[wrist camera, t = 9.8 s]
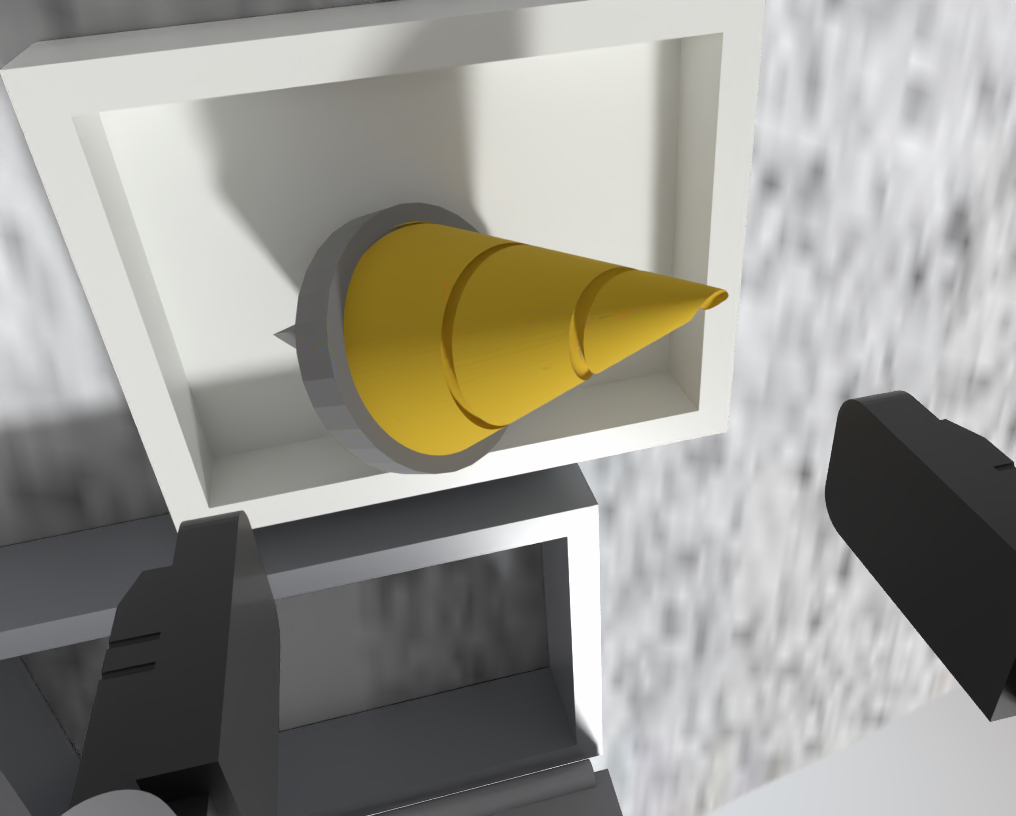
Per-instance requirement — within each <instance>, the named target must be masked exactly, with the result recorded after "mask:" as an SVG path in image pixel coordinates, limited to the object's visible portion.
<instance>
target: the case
mask: <svg viewBox="0 0 1016 816" xmlns="http://www.w3.org/2000/svg"><path fill="white" fill-rule="evenodd" d="M252 531H253V534H254V537H255V540H256V543H257V546H258V550H259V553H260V556H261V559H262V562H263V565H264V569H265V572H266V575H267V578H268V581H269V584H270V588H271V591H272V594H273V597H274V600H278V599H282V598H287V597H292V596H296V595H301V594H305V593H310V592H314V591H319V590H324V589H328V588H333V587H337V586H342V585H347V584H351V583H356V582H360V581H365V580H370V579H374V578H379V577H383V576H388V575H392V574H397V573H402V572H406V571H411V570H415V569H420V568H425V567H429V566H434V565H438V564H443V563H447V562H452V561H457V560H461V559H466V558H470V557H475V556H480V555H484V554H489V553H493V552H498V551H502V550H507V549H512V548H516V547H521V546H525V545H530V544H535V543H539V542H541V546H542V561H543V576H544V590H545V605H546V620H547V635H548V650H549V664H550V667H548V668H543V669H539V670H535V671H531V672H527V673H523V674H519V675H514V676H510V677H506V678H502V679H498V680H494V681H490V682H485V683H481V684H477V685H473V686H469V687H465V688H461V689H457V690H452V691H448V692H444V693H440V694H436V695H432V696H428V697H423V698H419V699H415V700H411V701H407V702H403V703H399V704H394V705H390V706H386V707H382V708H378V709H374V710H370V711H365V712H361V713H357V714H353V715H349V716H345V717H341V718H337V719H332V720H328V721H324V722H320V723H316V724H312V725H308V726H303V727H299V728H295V729H291V730H287V731H283V732H279V737H278V792H277V816H368V815H372V814H376V813H379V812H383V811H387V810H391V809H395V808H399V807H402V806H406V805H410V804H414V803H418V802H422V801H426V800H429V799H433V798H437V797H441V796H445V795H449V794H452V793H456V792H460V791H464V790H468V789H472V788H475V787H479V786H483V785H487V784H491V783H495V782H498V781H502V780H506V779H510V778H514V777H518V776H522V775H525V774H529V773H533V772H537V771H541V770H545V769H548V768H552V767H556V766H560V765H564V764H568V763H571V762H575V761H579V760H583V759H587V758H591V757H594V756H598V755H602V696H601V636H600V575H599V515H598V503H597V501H596V499H595V497H594V495H593V493H592V491H591V489H590V487H589V485H588V483H587V481H586V479H585V477H584V475H583V473H582V472H581V470H580V468H579V466H578V464H577V463H572V464H567V465H562V466H557V467H552V468H548V469H543V470H538V471H533V472H528V473H523V474H518V475H513V476H508V477H504V478H499V479H494V480H489V481H484V482H479V483H474V484H469V485H465V486H460V487H455V488H450V489H445V490H440V491H435V492H430V493H425V494H421V495H416V496H411V497H406V498H401V499H396V500H391V501H386V502H381V503H377V504H372V505H367V506H362V507H357V508H352V509H347V510H342V511H337V512H333V513H328V514H323V515H318V516H313V517H308V518H303V519H298V520H294V521H289V522H284V523H279V524H274V525H269V526H264V527H259V528H254V529H252ZM177 535H178V533H177V530H176V527H175V525H174V522H173V520H172V517H171V514H165V515H160V516H155V517H150V518H145V519H140V520H135V521H130V522H125V523H120V524H115V525H110V526H105V527H100V528H95V529H90V530H85V531H80V532H75V533H70V534H65V535H60V536H55V537H50V538H45V539H40V540H35V541H30V542H25V543H20V544H15V545H10V546H5V547H0V816H61V815H62V814H64V813H65V812H67V810H68V808H69V804H70V801H71V798H72V795H73V790H74V786H75V782H76V778H77V773H78V769H79V765H80V761H81V760H80V758H79V757H78V755H77V753H76V752H75V750H74V748H73V746H72V745H71V743H70V741H69V740H68V738H67V736H66V735H65V733H64V731H63V729H62V728H61V726H60V724H59V723H58V721H57V719H56V718H55V716H54V714H53V713H52V711H51V709H50V707H49V706H48V704H47V702H46V701H45V699H44V697H43V696H42V694H41V692H40V690H39V689H38V687H37V685H36V684H35V682H34V680H33V679H32V677H31V675H30V673H29V672H28V670H27V668H26V667H25V665H24V663H23V662H22V660H21V658H20V657H19V656H21V655H26V654H30V653H35V652H39V651H44V650H49V649H53V648H58V647H62V646H67V645H71V644H76V643H81V642H85V641H90V640H94V639H99V638H104V637H108V636H110V634H111V630H112V626H113V622H114V617H115V613H116V609H117V605H118V604H119V603H120V601H121V600H122V599H123V597H124V596H125V595H126V593H127V592H128V590H129V589H130V588H131V586H132V585H133V584H134V582H135V581H136V579H137V578H138V577H139V575H140V574H141V573H142V571H146V570H151V569H156V568H161V567H166V566H172V564H173V558H174V552H175V547H176V541H177Z"/></svg>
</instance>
